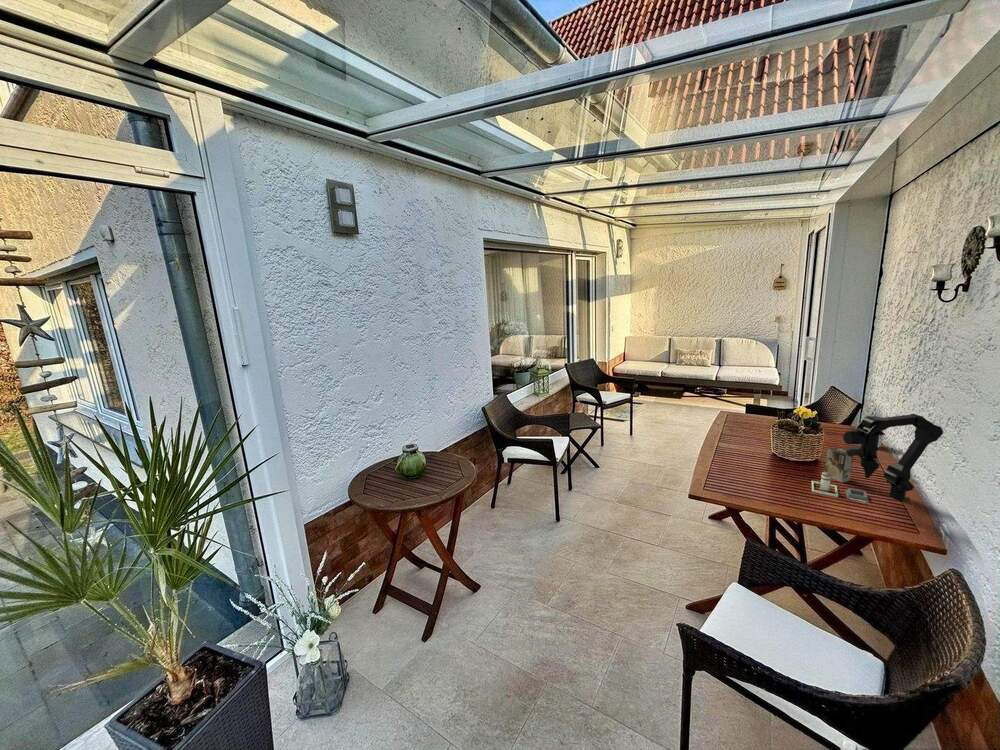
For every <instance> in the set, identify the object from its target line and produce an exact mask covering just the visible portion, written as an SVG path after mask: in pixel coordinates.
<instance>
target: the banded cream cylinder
mask: <svg viewBox="0 0 1000 750" xmlns="http://www.w3.org/2000/svg"><path fill="white" fill-rule="evenodd" d="M831 475H832V474H831V473H828V472H825V471H822V472H821V479H820V482H821V484H819V491H821V492H826V493H829V492H830V484H831V479H832V478H831Z"/></svg>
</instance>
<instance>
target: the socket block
mask: <svg viewBox="0 0 1000 750" xmlns="http://www.w3.org/2000/svg"><path fill="white" fill-rule="evenodd" d="M844 490H845V495H846V499H847V500H853V501H859V502H863V503H867V504H869V503H870V502H869V501H870V500H869V497H868V494H867V492H866V491H865V490H864V491H863V490H859V489H855V488H854V489H853V488H848V487H847V489H844Z"/></svg>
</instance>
